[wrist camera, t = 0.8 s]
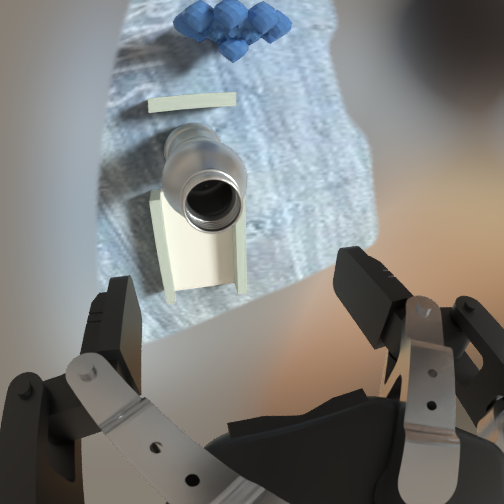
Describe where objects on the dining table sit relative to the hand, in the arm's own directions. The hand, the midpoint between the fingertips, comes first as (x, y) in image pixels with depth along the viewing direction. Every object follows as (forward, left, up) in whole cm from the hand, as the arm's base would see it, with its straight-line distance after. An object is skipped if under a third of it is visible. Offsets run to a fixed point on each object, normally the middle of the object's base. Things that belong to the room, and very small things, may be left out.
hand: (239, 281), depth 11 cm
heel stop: (-6, 0, -28) cm, 28 cm away
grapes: (-13, +4, -28) cm, 31 cm away
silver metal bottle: (0, 0, -28) cm, 28 cm away
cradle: (+13, 0, -28) cm, 30 cm away
